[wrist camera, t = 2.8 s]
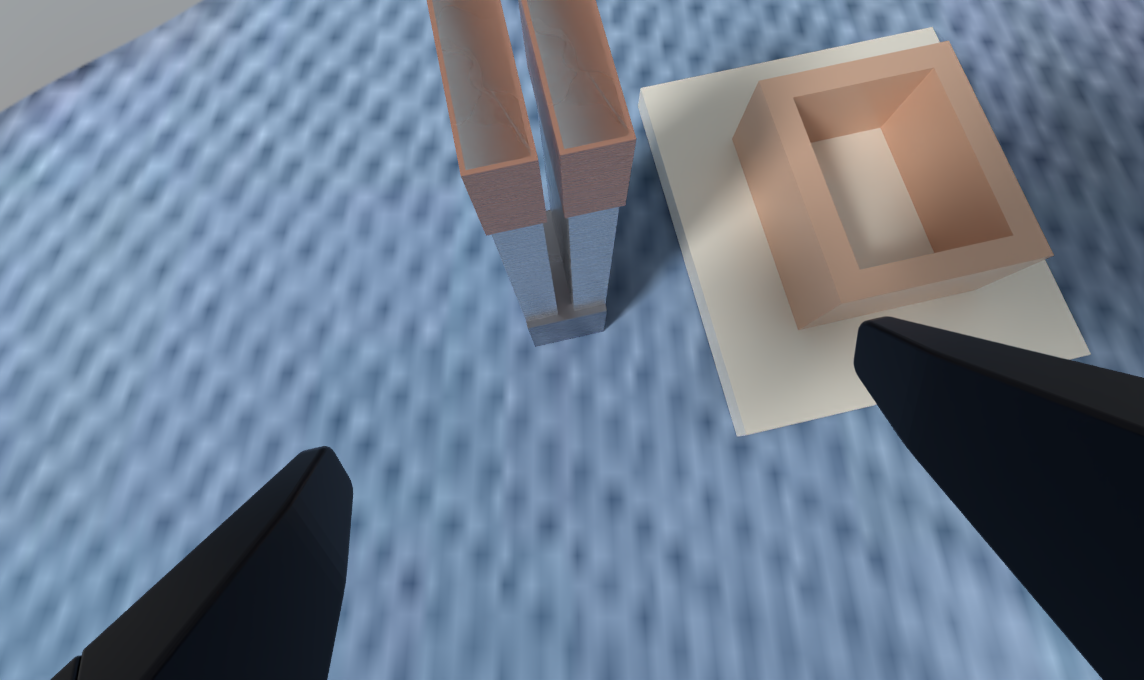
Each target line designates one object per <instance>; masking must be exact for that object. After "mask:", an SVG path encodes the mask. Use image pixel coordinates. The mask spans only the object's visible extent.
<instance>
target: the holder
mask: <svg viewBox="0 0 1144 680" xmlns="http://www.w3.org/2000/svg"><path fill="white" fill-rule="evenodd" d="M638 108H639V111H640V115H641V118H642V121H643V125H644V128H645V131H646V135H647V138H648V141H649V145H650V148H651V151H652V155H653V158H654V161H655V165H656V168H657V171H658V175H659V178H660V181H661V185H662V188H663V191H664V195H665V198H666V201H667V205H668V208H669V211H670V215H671V218H672V221H673V225H674V228H675V231H676V235H677V238H678V241H679V245H680V248H681V251H682V255H683V258H684V261H685V265H686V268H687V271H688V275H689V278H690V281H691V285H692V288H693V291H694V295H695V298H696V301H697V305H698V308H699V311H700V315H701V318H702V321H703V325H704V328H705V331H706V335H707V338H708V341H709V345H710V348H711V351H712V355H713V358H714V361H715V365H716V368H717V371H718V375H719V378H720V381H721V385H722V388H723V391H724V395H725V398H726V401H727V405H728V408H729V411H730V415H731V418H732V421H733V425H734V428H735V431H736V435H737V437H738V436H744V435H749V434H753V433H758V432H762V431H766V430H770V429H775V428H779V427H783V426H788V425H792V424H796V423H800V422H805V421H809V420H813V419H817V418H822V417H826V416H830V415H835V414H839V413H843V412H847V411H852V410H856V409H860V408H864V407H869V406H873V405H877V404H876V402H875V401H874V399H873V398H872V397H871V395H870V394H869V392H868V391H867V389H866V388H865V386H864V385H863V383H862V382H861V380H860V379H859V377H858V376H857V374H856V372H855V369H854V363H853V361H854V353H855V347H856V340H857V333H858V328H859V326H860V324H861V323H862V322H864V321H866V320H870V319H874V318H879V317H883V316H890V317H894V318H898V319H903V320H907V321H911V322H915V323H919V324H923V325H927V326H932V327H936V328H940V329H944V330H948V331H952V332H956V333H960V334H965V335H969V336H973V337H977V338H981V339H985V340H989V341H994V342H998V343H1002V344H1006V345H1010V346H1014V347H1018V348H1022V349H1027V350H1031V351H1035V352H1039V353H1043V354H1047V355H1051V356H1055V357H1060V358H1064V359H1068V360H1069V359H1074V358H1078V357H1082V356H1087V355H1091V353H1090V351H1089V349H1088V347H1087V345H1086V343H1085V341H1084V339H1083V337H1082V335H1081V333H1080V331H1079V329H1078V327H1077V324H1076V322H1075V320H1074V318H1073V316H1072V314H1071V312H1070V310H1069V308H1068V306H1067V304H1066V302H1065V300H1064V298H1063V296H1062V293H1061V291H1060V289H1059V287H1058V285H1057V283H1056V281H1055V279H1054V277H1053V275H1052V273H1051V271H1050V269H1049V267H1048V265H1047V263H1046V260H1045V259H1047V258H1050V257H1052V256H1054V254H1053V252H1052V250H1051V248H1050V246H1049V244H1048V242H1047V240H1046V238H1045V236H1044V234H1043V232H1042V230H1041V228H1040V226H1039V224H1038V222H1037V220H1036V218H1035V216H1034V214H1033V211H1032V209H1031V207H1030V205H1029V203H1028V201H1027V199H1026V197H1025V195H1024V193H1023V191H1022V189H1021V187H1020V185H1019V183H1018V181H1017V179H1016V177H1015V175H1014V173H1013V171H1012V169H1011V167H1010V165H1009V163H1008V160H1007V158H1006V156H1005V154H1004V152H1003V150H1002V148H1001V146H1000V144H999V142H998V140H997V138H996V136H995V134H994V132H993V130H992V128H991V126H990V124H989V122H988V120H987V118H986V116H985V114H984V112H983V109H982V107H981V105H980V103H979V101H978V99H977V97H976V95H975V93H974V91H973V89H972V87H971V85H970V83H969V81H968V79H967V77H966V75H965V73H964V71H963V69H962V67H961V65H960V63H959V61H958V58H957V56H956V54H955V52H954V50H953V48H952V46H951V44H950V42H949V41H945V42H939V40H938V38H937V36H936V33H935V31H934V29H933V27H930V28H925V29H921V30H916V31H911V32H906V33H902V34H897V35H892V36H887V37H882V38H878V39H873V40H868V41H863V42H859V43H854V44H849V45H844V46H840V47H835V48H830V49H825V50H820V51H816V52H811V53H806V54H801V55H797V56H792V57H787V58H782V59H778V60H773V61H768V62H763V63H759V64H754V65H749V66H744V67H739V68H735V69H730V70H725V71H720V72H716V73H711V74H706V75H701V76H697V77H692V78H687V79H682V80H677V81H673V82H668V83H663V84H658V85H654V86H649V87H644V88H641V90H640V96H639V103H638Z"/></svg>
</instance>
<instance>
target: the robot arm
mask: <svg viewBox="0 0 1144 680" xmlns="http://www.w3.org/2000/svg"><path fill="white" fill-rule="evenodd" d="M853 363H854V369H855V372H856V374H857V376H858V377H859V379H860V380H861V382H862V383H863V385H864V386H865V388H866V389H867V391H868V392H869V394H870V395H871V397H872V398H873V399H874V401H875V402H876V404H877V405H878V407H879V408H880V410H881V411H882V413H883V414H884V416H885V417H886V419H887V420H888V422H889V423H890V424H891V426H892V427H893V429H894V430H895V432H896V433H897V435H898V436H899V437H900V439H901V440H902V442H903V443H904V444H905V446H906V447H907V448H908V450H909V451H910V452H911V453H912V454H913V456H914V457H915V458H916V459H917V461H918V462H919V463H920V464H921V465H922V467H923V468H924V469H925V470H926V471H927V472H928V474H929V475H930V476H931V477H932V478H933V480H934V481H935V482H936V483H937V484H938V485H939V487H940V488H941V489H942V490H943V491H944V493H945V494H946V495H947V496H948V497H949V498H950V500H951V501H952V502H953V503H954V504H955V506H956V507H957V508H958V509H959V510H960V511H961V513H962V514H963V515H964V516H965V517H966V519H967V520H968V521H969V522H970V523H971V524H972V526H973V527H974V528H975V529H976V530H977V532H978V533H979V534H980V535H981V536H982V537H983V539H984V540H985V541H986V542H987V543H988V545H989V546H990V547H991V548H992V549H993V550H994V552H995V553H996V554H997V555H998V556H999V558H1000V559H1001V560H1002V561H1003V562H1004V563H1005V565H1006V566H1007V567H1008V568H1009V569H1010V571H1011V572H1012V573H1013V574H1014V575H1015V576H1016V578H1017V579H1018V580H1019V581H1020V582H1021V584H1022V585H1023V586H1024V587H1025V588H1026V589H1027V591H1028V592H1029V593H1030V594H1031V595H1032V597H1033V598H1034V599H1035V600H1036V601H1037V602H1038V604H1039V605H1040V606H1041V607H1042V608H1043V610H1044V611H1045V612H1046V613H1047V614H1048V615H1049V617H1050V618H1051V619H1052V620H1053V621H1054V623H1055V624H1056V625H1057V626H1058V627H1059V628H1060V630H1061V631H1062V632H1063V633H1064V634H1065V636H1066V637H1067V638H1068V639H1069V640H1070V641H1071V643H1072V644H1073V645H1074V646H1075V647H1076V649H1077V650H1078V651H1079V652H1080V653H1081V654H1082V656H1083V657H1084V658H1085V659H1086V660H1087V662H1088V663H1089V664H1090V665H1091V666H1092V667H1093V669H1094V670H1095V671H1096V672H1097V673H1098V675H1099V676H1100V677H1101V678H1102V679H1103V680H1144V378H1142V377H1138V376H1134V375H1130V374H1126V373H1122V372H1117V371H1113V370H1109V369H1105V368H1101V367H1097V366H1093V365H1089V364H1084V363H1080V362H1076V361H1072V360H1068V359H1064V358H1060V357H1055V356H1051V355H1047V354H1043V353H1039V352H1035V351H1031V350H1027V349H1022V348H1018V347H1014V346H1010V345H1006V344H1002V343H998V342H994V341H989V340H985V339H981V338H977V337H973V336H969V335H965V334H960V333H956V332H952V331H948V330H944V329H940V328H936V327H932V326H927V325H923V324H919V323H915V322H911V321H907V320H903V319H898V318H894V317H890V316H883V317H879V318H874V319H870V320H866V321H864V322H862V323H861V324H860V326H859V328H858V333H857V340H856V347H855V353H854V361H853ZM352 502H353V487H352V483H351V480H350V478H349V476H348V475H347V473H346V471H345V469H344V468H343V466H342V464H341V463H340V461H339V459H338V457H337V456H336V454H335V452H334V451H333V450H332V449H331V448H330V447H327V446H322V447H318V448H313V449H309V450H305V451H302V452H301V453H299V454H298V455H297V456H296V457H295V458H294V459H293V460H291V461H290V462H289V463H288V464H287V465H286V466H285V467H284V468H283V469H282V470H280V471H279V472H278V473H277V474H276V475H275V476H274V477H273V478H272V479H271V480H269V481H268V482H267V483H266V484H265V485H264V486H263V487H262V488H261V489H260V490H258V491H257V492H256V493H255V494H254V495H253V496H252V497H251V498H250V499H249V500H247V501H246V502H245V503H244V504H243V505H242V506H241V507H240V508H239V509H238V510H236V511H235V512H234V513H233V514H232V515H231V516H230V517H229V518H228V519H227V520H225V521H224V522H223V523H222V524H221V525H220V526H219V527H218V528H217V529H216V530H215V531H213V532H212V533H211V534H210V535H209V536H208V537H207V538H206V539H205V540H204V541H202V542H201V543H200V544H199V545H198V546H197V547H196V548H195V549H194V550H193V551H191V552H190V553H189V554H188V555H187V556H186V557H185V558H184V559H183V560H182V561H180V562H179V563H178V564H177V565H176V566H175V567H174V568H173V569H172V570H171V571H169V572H168V573H167V574H166V575H165V576H164V577H163V578H162V579H161V580H160V581H158V582H157V583H156V584H155V585H154V586H153V587H152V588H151V589H150V590H149V591H147V592H146V593H145V594H144V595H143V596H142V597H141V598H140V599H139V600H138V601H136V602H135V603H134V604H133V605H132V606H131V607H130V608H129V609H128V610H127V611H125V612H124V613H123V614H122V615H121V616H120V617H119V618H118V619H117V620H116V621H114V622H113V623H112V624H111V625H110V626H109V627H108V628H107V629H106V630H105V631H103V632H102V633H101V634H100V635H99V636H98V637H97V638H96V639H95V640H94V641H92V642H91V643H90V644H89V645H88V646H87V647H86V648H85V649H84V650H83V652H82V656H76V657H75V658H74V659H72V660H71V661H70V662H69V663H68V664H67V665H66V666H65V667H64V668H63V669H62V670H60V671H59V672H58V673H57V674H56V675H55V676H54V677H53V678H52V679H51V680H327V678H328V673H329V668H330V663H331V657H332V652H333V647H334V642H335V637H336V632H337V626H338V621H339V616H340V611H341V606H342V601H343V595H344V589H345V583H346V575H347V566H348V553H349V541H350V528H351V515H352Z"/></svg>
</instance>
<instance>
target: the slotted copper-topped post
mask: <svg viewBox="0 0 1144 680" xmlns="http://www.w3.org/2000/svg"><path fill="white" fill-rule="evenodd" d="M518 2H519V9H520V16H521V23H522V31H523V38H524V45H525V52H526V59H527V66H528V70H529V74H530V78H531V82H532V86H533V90H534V95H535V99H536V103H537V109H538V117H539V125H540V132H541V140H542V148H543V156H544V164H545V171H546V179H547V187H548V195H549V203H550V210H548V211H546V209H545V203H544V196H543V189H542V182H541V175H540V169H539V162H538V157H537V153H536V149H535V144H534V140H533V136H532V132H531V128H530V123H529V119H528V115H527V111H526V106H525V102H524V98H523V94H522V90H521V85H520V81H519V77H518V73H517V69H516V64H515V60H514V56H513V52H512V48H511V43H510V39H509V35H508V31H507V27H506V22H505V18H504V14H503V10H502V6H501V1H500V0H427V4H428V9H429V14H430V19H431V24H432V30H433V35H434V40H435V45H436V50H437V55H438V60H439V66H440V71H441V76H442V81H443V86H444V91H445V96H446V102H447V107H448V112H449V117H450V122H451V127H452V132H453V138H454V143H455V148H456V153H457V158H458V163H459V168H460V174H461V177H462V180H463V182H464V184H465V187H466V189H467V191H468V194H469V196H470V199H471V201H472V203H473V206H474V208H475V210H476V213H477V215H478V217H479V220H480V222H481V224H482V227H483V229H484V231H485V234H486V235H492V237H493V240H494V242H495V245H496V247H497V250H498V252H499V255H500V257H501V260H502V262H503V265H504V267H505V270H506V272H507V275H508V277H509V280H510V282H511V285H512V287H513V290H514V292H515V294H516V297H517V299H518V302H519V304H520V307H521V309H522V312H523V314H524V317H525V319H526V322H527V326H528V330H529V332H530V335H531V337H532V340H533V342H534V344H535V347H536V346H540V345H545V344H549V343H553V342H558V341H562V340H567V339H571V338H576V337H580V336H585V335H589V334H593V333H598V332H602V331H604V326H605V320H606V314H607V309H606V305H605V303H606V296H607V289H608V282H609V275H610V268H611V261H612V254H613V247H614V240H615V233H616V226H617V219H618V212H619V207H620V206H624V205H625V204H626V198H627V192H628V186H629V180H630V174H631V168H632V162H633V156H634V150H635V144H636V136H635V133H634V130H633V126H632V123H631V119H630V116H629V113H628V109H627V106H626V102H625V99H624V96H623V92H622V89H621V85H620V82H619V79H618V75H617V72H616V68H615V65H614V62H613V58H612V55H611V51H610V48H609V45H608V41H607V38H606V34H605V31H604V28H603V24H602V21H601V17H600V14H599V11H598V7H597V4H596V0H518Z"/></svg>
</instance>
